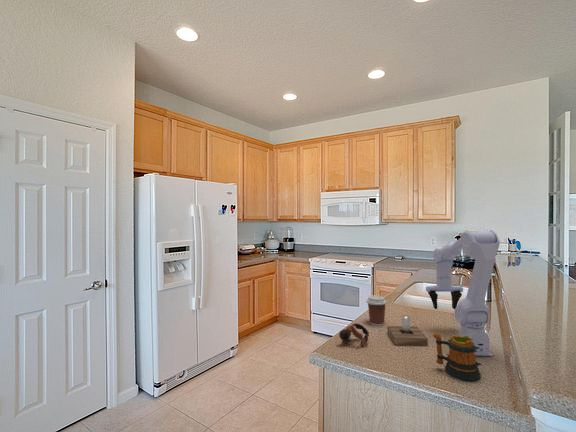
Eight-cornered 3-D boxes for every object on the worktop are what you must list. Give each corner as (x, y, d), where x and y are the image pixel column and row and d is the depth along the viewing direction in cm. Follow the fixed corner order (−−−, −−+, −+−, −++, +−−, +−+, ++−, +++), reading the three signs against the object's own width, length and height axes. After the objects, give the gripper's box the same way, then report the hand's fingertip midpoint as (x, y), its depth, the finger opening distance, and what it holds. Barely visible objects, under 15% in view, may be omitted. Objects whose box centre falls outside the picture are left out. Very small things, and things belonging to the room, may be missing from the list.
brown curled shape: (352, 336, 122) (361, 321, 120) (365, 355, 114) (376, 339, 112) (330, 335, 116) (340, 319, 114) (342, 354, 108) (353, 337, 106)
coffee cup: (388, 321, 138) (388, 295, 138) (385, 327, 130) (384, 300, 130) (369, 318, 142) (368, 293, 142) (364, 324, 134) (364, 298, 134)
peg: (411, 340, 116) (410, 317, 116) (403, 340, 116) (402, 317, 116) (409, 337, 118) (408, 315, 119) (401, 337, 119) (401, 315, 119)
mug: (479, 368, 93) (478, 332, 93) (484, 385, 84) (483, 345, 84) (433, 361, 99) (432, 326, 99) (434, 375, 90) (433, 338, 90)
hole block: (427, 345, 111) (427, 337, 111) (395, 345, 112) (394, 337, 112) (417, 333, 122) (416, 326, 123) (387, 333, 124) (387, 325, 124)
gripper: (457, 275, 129) (458, 305, 129) (422, 275, 130) (423, 305, 130) (465, 278, 122) (466, 310, 121) (428, 278, 123) (429, 310, 123)
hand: (444, 308), depth 125 cm, fingers open, 7 cm apart
